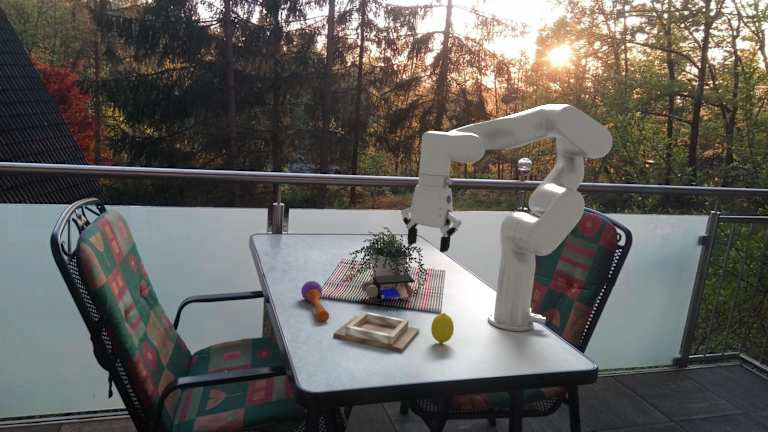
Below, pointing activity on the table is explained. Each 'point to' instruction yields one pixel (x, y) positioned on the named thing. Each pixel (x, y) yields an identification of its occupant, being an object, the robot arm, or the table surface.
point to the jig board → (378, 331)
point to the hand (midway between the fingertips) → (427, 247)
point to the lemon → (442, 328)
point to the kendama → (315, 299)
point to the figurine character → (375, 292)
